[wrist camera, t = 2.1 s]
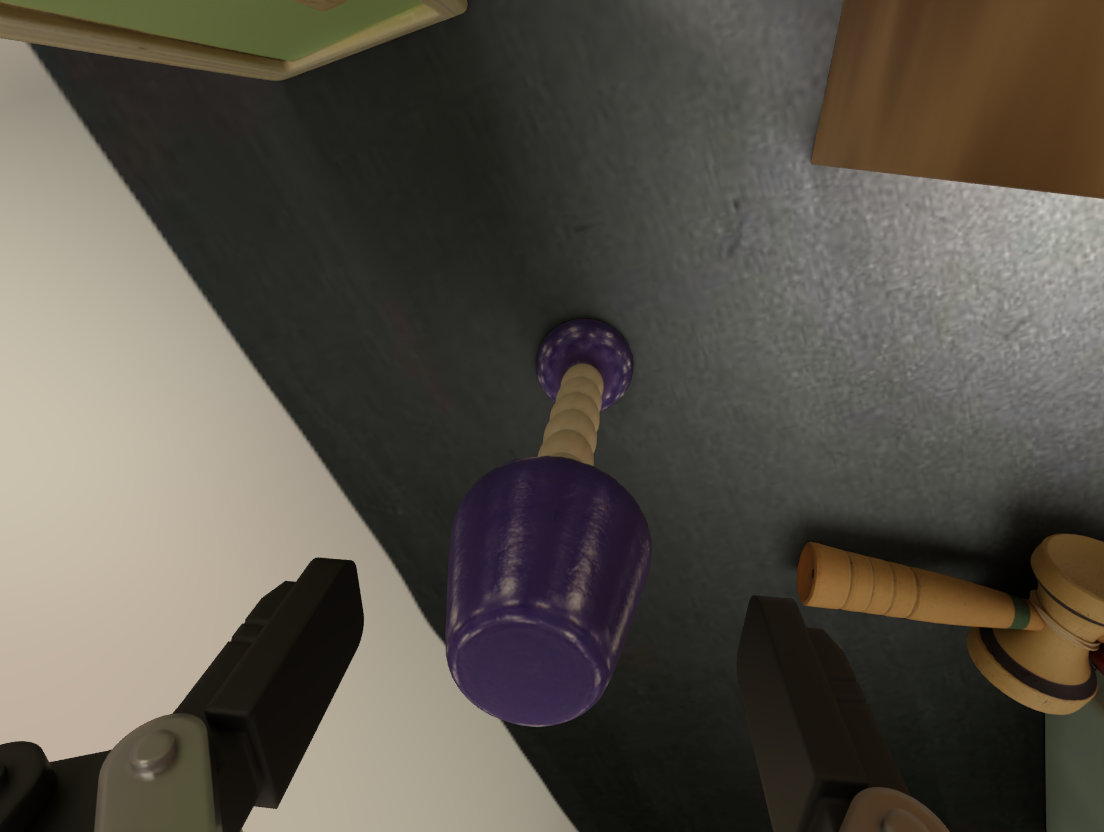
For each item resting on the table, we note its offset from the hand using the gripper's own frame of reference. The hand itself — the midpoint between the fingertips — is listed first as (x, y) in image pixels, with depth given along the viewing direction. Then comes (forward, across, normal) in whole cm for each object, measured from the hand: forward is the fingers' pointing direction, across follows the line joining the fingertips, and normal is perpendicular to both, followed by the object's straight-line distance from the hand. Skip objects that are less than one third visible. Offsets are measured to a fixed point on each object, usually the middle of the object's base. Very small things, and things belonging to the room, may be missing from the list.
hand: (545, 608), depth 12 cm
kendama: (+15, -20, +10) cm, 27 cm away
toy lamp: (+15, 0, 0) cm, 15 cm away
